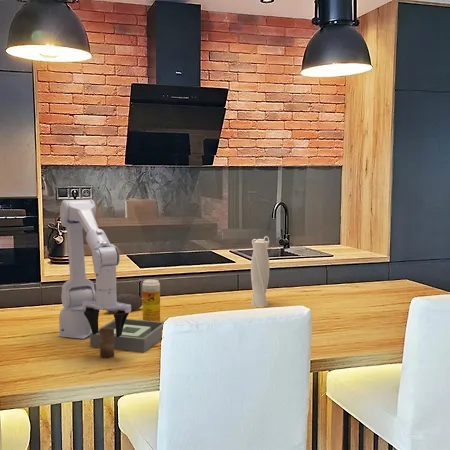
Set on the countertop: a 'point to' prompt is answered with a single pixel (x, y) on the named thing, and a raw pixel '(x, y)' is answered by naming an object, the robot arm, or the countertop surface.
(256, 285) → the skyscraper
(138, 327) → the plate
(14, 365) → the countertop surface
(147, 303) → the beer can
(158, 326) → the graphite box
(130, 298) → the perforated stone tool
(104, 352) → the walnut peg
